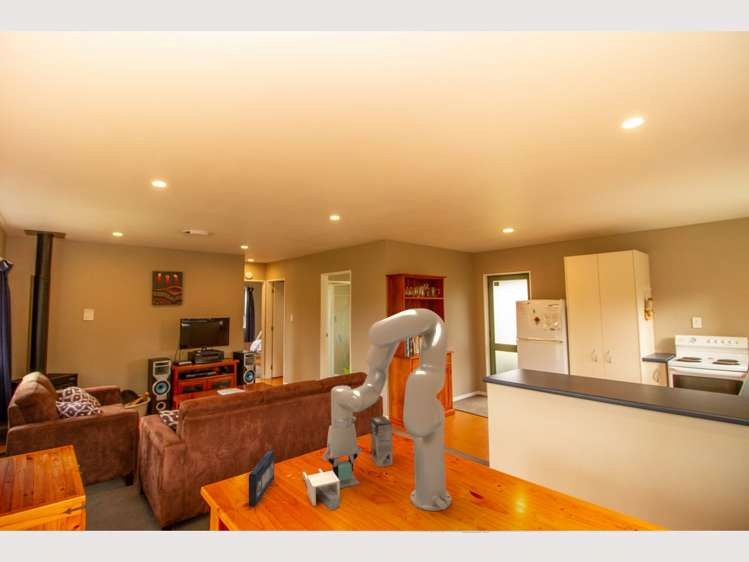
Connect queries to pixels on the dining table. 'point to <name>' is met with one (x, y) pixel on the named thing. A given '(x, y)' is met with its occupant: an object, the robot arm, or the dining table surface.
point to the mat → (349, 482)
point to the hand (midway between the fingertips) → (343, 474)
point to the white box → (321, 483)
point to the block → (344, 470)
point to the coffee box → (381, 441)
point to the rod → (328, 497)
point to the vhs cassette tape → (261, 478)
